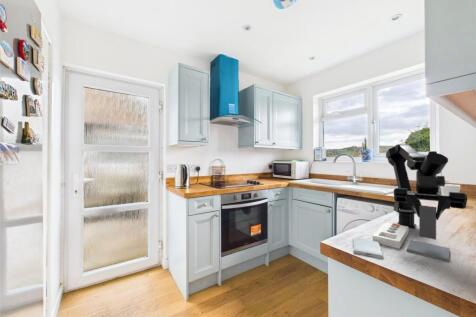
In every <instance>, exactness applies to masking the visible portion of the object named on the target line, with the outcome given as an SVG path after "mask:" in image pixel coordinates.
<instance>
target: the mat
mask: <svg viewBox="0 0 476 317" xmlns="http://www.w3.org/2000/svg"><path fill="white" fill-rule="evenodd" d="M406 252H409V253H412V254H413V253H414V254H416V255H417V254H418V255H419V256H420V255H422V256H424V257H429V258H433V259H436V260H440V261H444V262H448V263H450V247H446V246H441V245H436V244H432V243H428V242H423V241H418V240H414V239H411V240H410V241H409V243H408V245H407V247H406Z"/></svg>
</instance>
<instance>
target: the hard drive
mask: <svg viewBox="0 0 476 317" xmlns="http://www.w3.org/2000/svg"><path fill="white" fill-rule="evenodd" d="M352 243H353V246H352V247H353V248H352V249H353V254H357V255H362V256H367V257H372V258H378V259H382V260H383V259H384V254H383V252H382V249H381V244H379V242H378V241H373V239H367V238H366V239H365V238H359V237H353V238H352Z"/></svg>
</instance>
